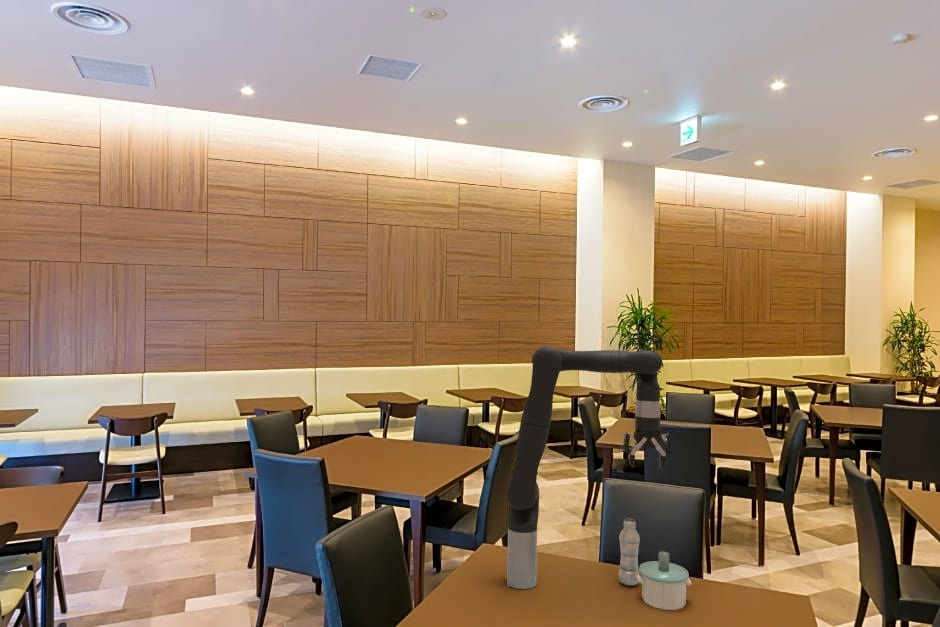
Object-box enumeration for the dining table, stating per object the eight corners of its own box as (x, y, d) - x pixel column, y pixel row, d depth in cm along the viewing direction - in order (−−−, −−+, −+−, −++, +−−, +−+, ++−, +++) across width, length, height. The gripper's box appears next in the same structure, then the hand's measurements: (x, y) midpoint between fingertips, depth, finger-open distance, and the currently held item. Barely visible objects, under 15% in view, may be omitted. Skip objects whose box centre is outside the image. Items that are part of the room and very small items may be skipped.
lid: (644, 582, 175) (645, 561, 176) (635, 563, 189) (635, 543, 190) (694, 584, 174) (694, 563, 175) (681, 565, 188) (681, 545, 189)
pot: (642, 608, 176) (642, 580, 176) (633, 590, 188) (633, 564, 188) (696, 610, 175) (696, 582, 176) (683, 592, 187) (683, 566, 188)
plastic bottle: (637, 580, 196) (638, 517, 197) (641, 589, 190) (642, 524, 190) (616, 579, 197) (617, 516, 197) (620, 587, 190) (620, 523, 191)
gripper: (626, 416, 186) (626, 469, 185) (674, 417, 185) (673, 471, 185) (622, 412, 193) (621, 463, 193) (667, 413, 193) (667, 465, 192)
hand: (647, 467), depth 189 cm, fingers open, 8 cm apart
